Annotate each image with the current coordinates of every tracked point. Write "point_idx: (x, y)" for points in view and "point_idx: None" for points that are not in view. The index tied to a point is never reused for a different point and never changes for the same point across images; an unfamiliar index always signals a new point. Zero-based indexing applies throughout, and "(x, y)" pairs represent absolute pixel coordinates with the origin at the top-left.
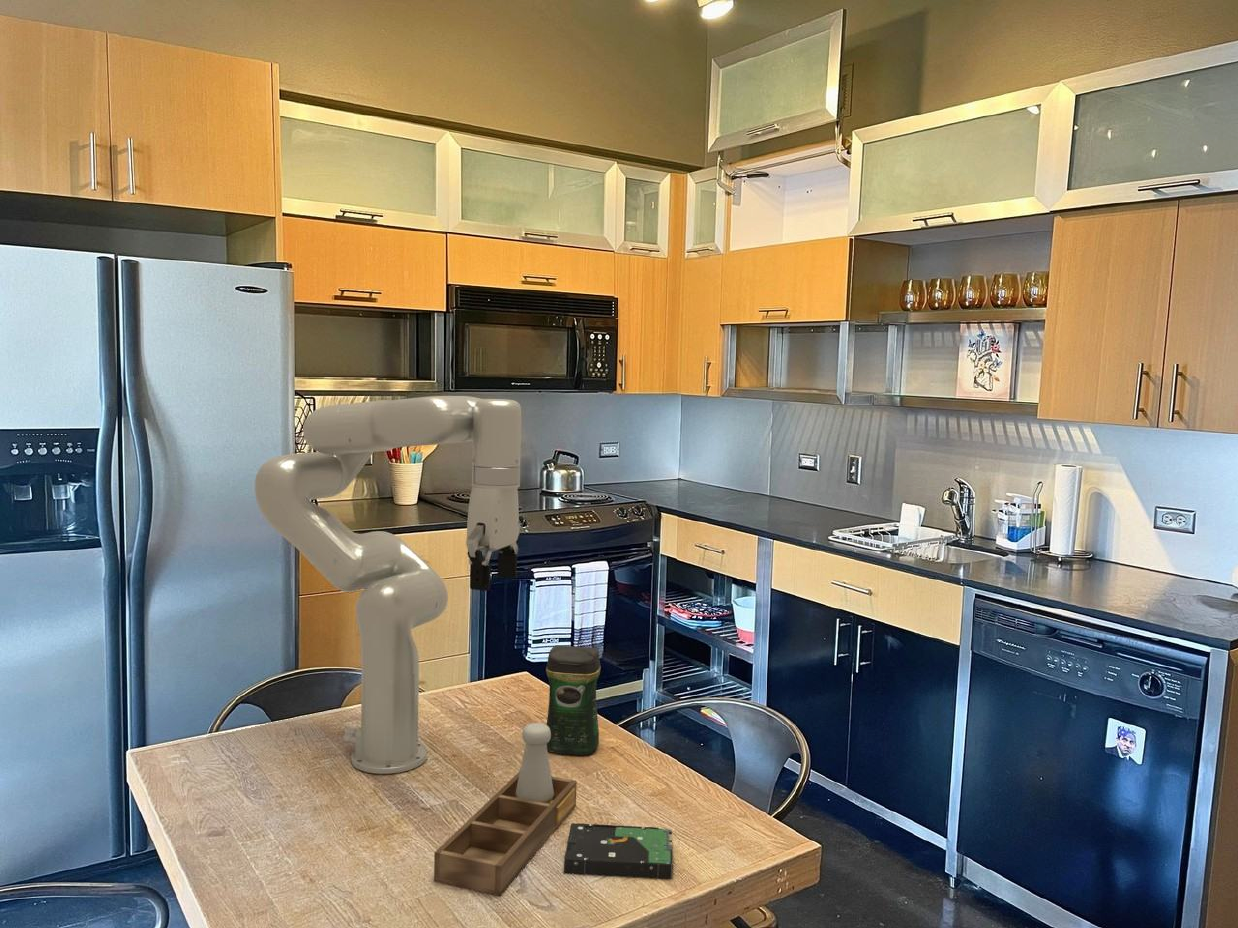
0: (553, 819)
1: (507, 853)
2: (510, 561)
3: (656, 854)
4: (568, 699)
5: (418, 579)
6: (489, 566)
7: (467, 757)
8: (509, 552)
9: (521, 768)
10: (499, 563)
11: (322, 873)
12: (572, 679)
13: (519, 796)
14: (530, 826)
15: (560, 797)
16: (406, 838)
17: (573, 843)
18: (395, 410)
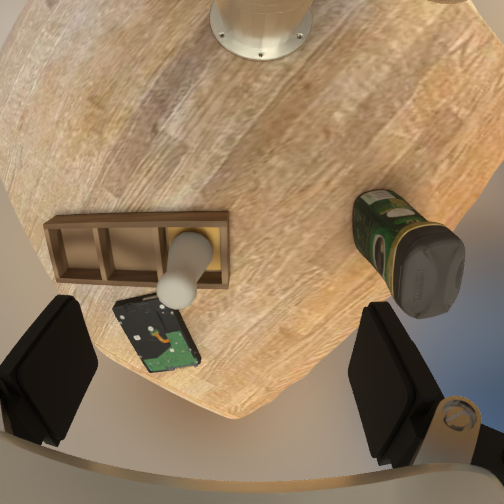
0: None
1: (71, 279)
2: (371, 420)
3: (156, 362)
4: (377, 254)
5: None
6: (50, 440)
7: (307, 105)
8: (393, 455)
9: (176, 252)
10: (384, 360)
11: (29, 126)
12: (389, 274)
13: (171, 243)
14: (116, 281)
15: None
16: (95, 150)
17: (135, 308)
18: None
